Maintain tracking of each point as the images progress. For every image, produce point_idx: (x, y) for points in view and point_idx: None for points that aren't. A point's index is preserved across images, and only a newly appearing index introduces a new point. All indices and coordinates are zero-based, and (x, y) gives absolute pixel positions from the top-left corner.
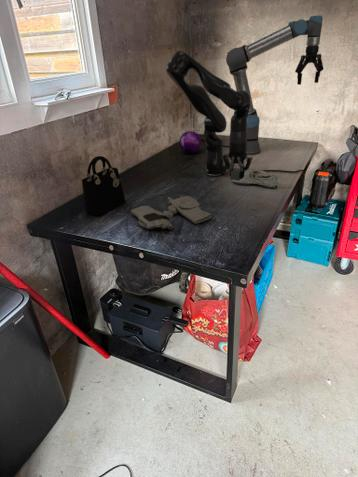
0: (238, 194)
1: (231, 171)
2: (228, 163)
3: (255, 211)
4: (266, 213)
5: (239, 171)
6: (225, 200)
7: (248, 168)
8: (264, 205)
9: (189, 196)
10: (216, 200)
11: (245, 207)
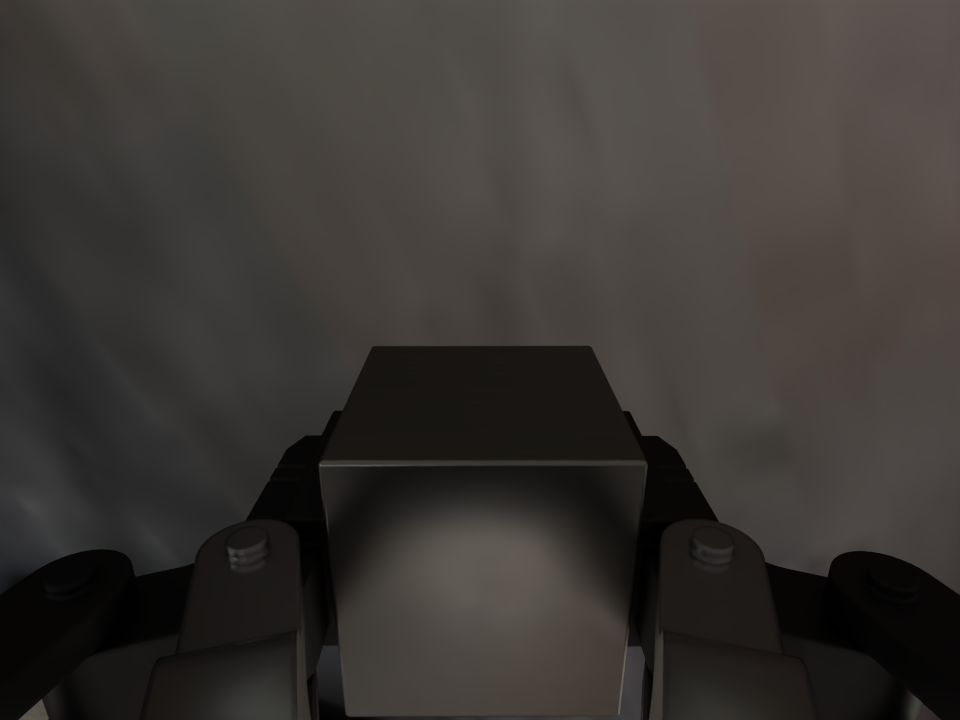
0: (425, 76)
1: (372, 695)
2: (16, 687)
3: (792, 473)
4: (914, 469)
5: (618, 697)
6: (363, 351)
7: (922, 594)
8: (868, 288)
9: (39, 709)
10: (266, 396)
11: (661, 429)
